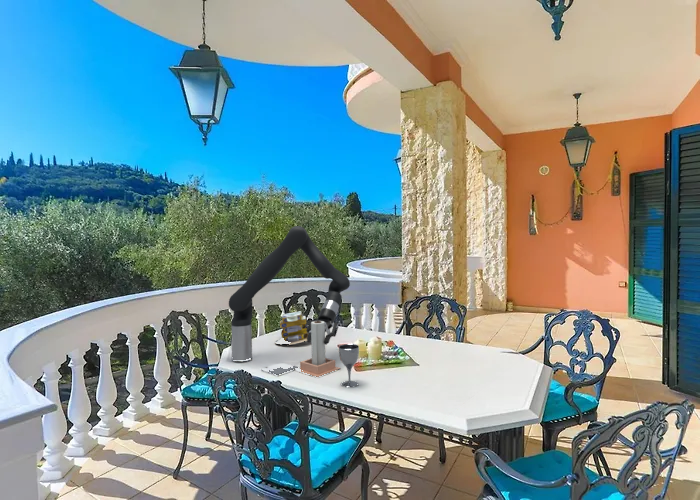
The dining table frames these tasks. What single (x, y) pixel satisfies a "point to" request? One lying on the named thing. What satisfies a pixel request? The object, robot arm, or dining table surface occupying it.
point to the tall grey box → (318, 342)
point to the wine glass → (349, 360)
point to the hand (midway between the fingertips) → (316, 342)
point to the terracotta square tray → (318, 367)
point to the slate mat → (282, 370)
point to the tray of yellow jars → (294, 327)
